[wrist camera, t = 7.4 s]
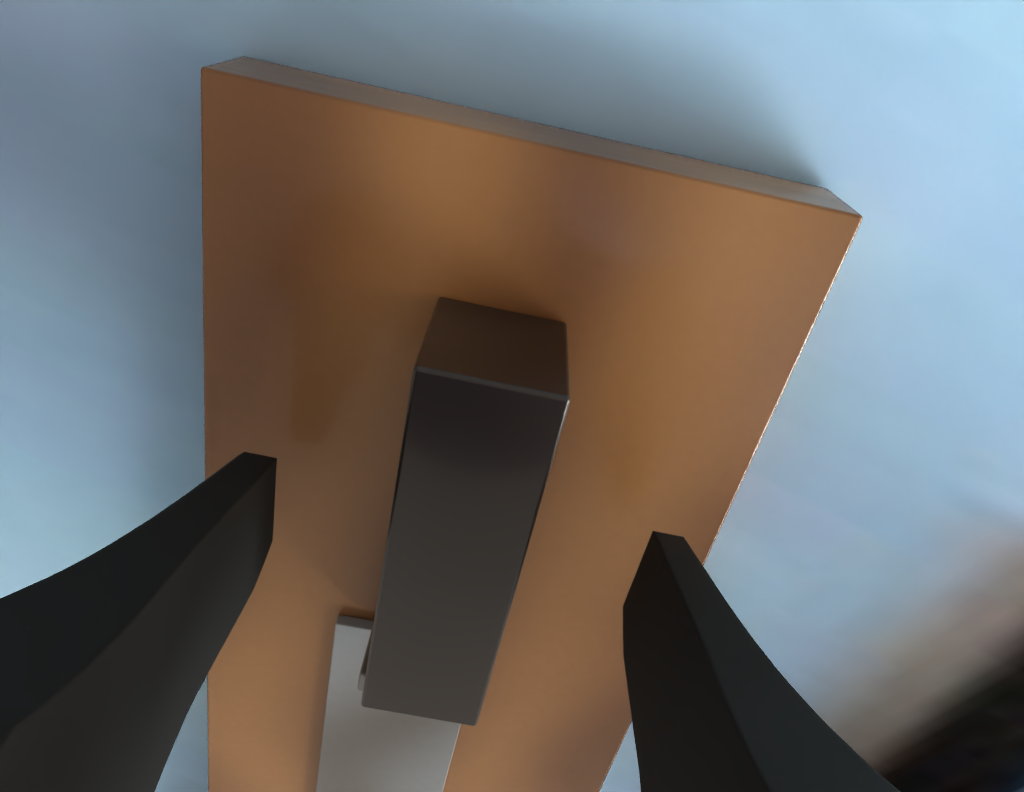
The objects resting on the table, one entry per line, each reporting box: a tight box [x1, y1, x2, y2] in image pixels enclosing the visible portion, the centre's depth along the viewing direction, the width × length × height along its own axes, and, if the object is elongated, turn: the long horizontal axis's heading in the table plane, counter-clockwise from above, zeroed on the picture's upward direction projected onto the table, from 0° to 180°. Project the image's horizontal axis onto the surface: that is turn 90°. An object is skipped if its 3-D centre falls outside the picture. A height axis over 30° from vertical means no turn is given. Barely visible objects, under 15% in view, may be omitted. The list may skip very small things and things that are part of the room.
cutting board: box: [201, 57, 862, 792], centre depth 19 cm, size 11×26×2 cm, turn 168°
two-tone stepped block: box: [316, 297, 570, 792], centre depth 16 cm, size 4×17×3 cm, turn 169°
